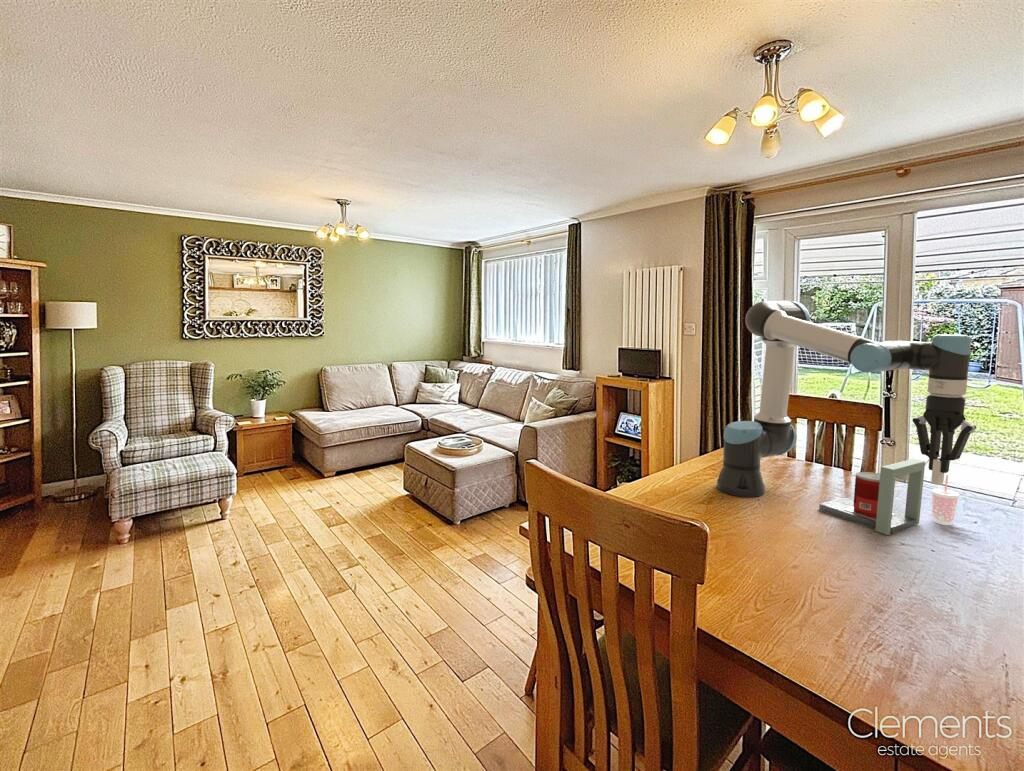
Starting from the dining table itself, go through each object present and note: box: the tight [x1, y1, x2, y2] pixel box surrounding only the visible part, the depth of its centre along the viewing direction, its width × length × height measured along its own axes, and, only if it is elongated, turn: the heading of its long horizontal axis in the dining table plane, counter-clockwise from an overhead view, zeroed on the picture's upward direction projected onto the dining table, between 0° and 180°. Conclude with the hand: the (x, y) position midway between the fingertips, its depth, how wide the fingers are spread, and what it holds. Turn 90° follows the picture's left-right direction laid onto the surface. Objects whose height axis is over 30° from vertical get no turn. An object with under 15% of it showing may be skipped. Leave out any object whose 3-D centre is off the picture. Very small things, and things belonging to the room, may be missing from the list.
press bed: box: [818, 496, 916, 535], centre depth 148 cm, size 20×12×2 cm, turn 26°
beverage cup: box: [931, 474, 960, 526], centre depth 143 cm, size 6×6×14 cm
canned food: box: [853, 471, 880, 516], centre depth 146 cm, size 8×8×11 cm
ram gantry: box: [874, 458, 926, 536], centre depth 139 cm, size 3×16×18 cm, turn 116°
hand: (937, 483), depth 131 cm, fingers closed
